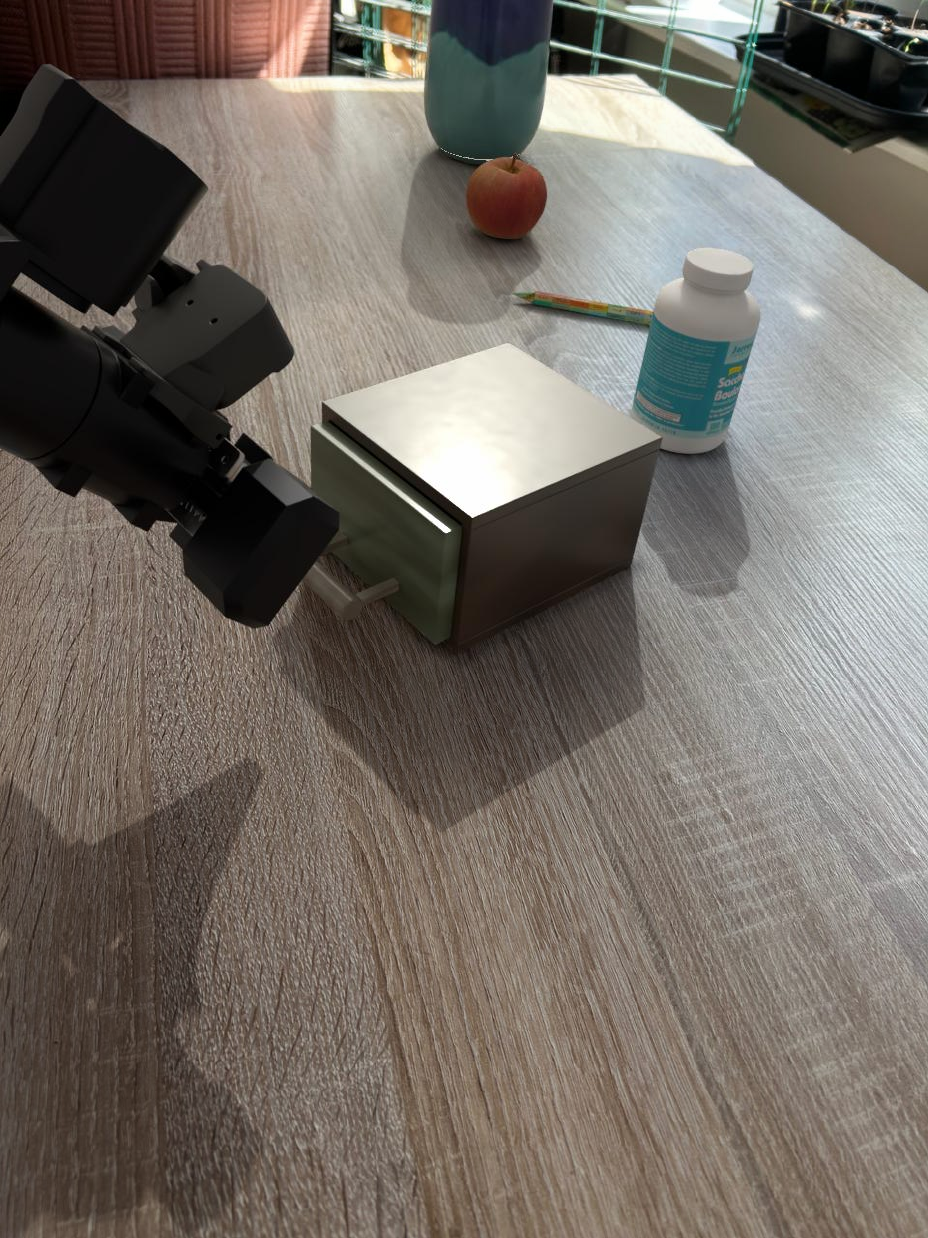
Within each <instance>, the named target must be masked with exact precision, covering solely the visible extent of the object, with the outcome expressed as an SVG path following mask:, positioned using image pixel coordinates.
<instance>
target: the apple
mask: <svg viewBox="0 0 928 1238" xmlns="http://www.w3.org/2000/svg"><path fill="white" fill-rule="evenodd" d="M517 155H518V154H517V153H516V152H515V153H514V156H513V158H510V157H501V158H496V159H493V160H490V161H488V162H486V163H484V164H482V165H478V167H477V168H476V169H475V170H474V171H473V173H472V174H471V175H470V177H469V180H468V182H467V186H466V191H465V202H466V209H467V212H468V215H469V218H470V220H471V222H472V223H473V225H474V226H475V227H476V228H477V230H479V231H480V232H481V233H483V234H484V235H487V236H490V237H493V238H497V239H504V240H517V239H520V238H523V237H524V236H525V235H527V234H529V232H531V231H532V230H533V229H534V228H535V226H536V225H537V224H538V223H539V221H540V219H541V218H542V216H543V214H544V212H545V209H546V207H547V206H546V205H547V200H548V188H547V183H546V181H545V177H544V176H543V174H542V173H541V172H540V171H539V170H538V169H537V168H536V167H534V166H533V165H531V164H529V163H527V162H525V161H522V160H520V159H517V158H518V157H517ZM516 157H517V158H516Z"/></svg>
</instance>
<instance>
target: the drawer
mask: <svg viewBox="0 0 928 1238" xmlns="http://www.w3.org/2000/svg"><path fill="white" fill-rule="evenodd" d="M309 429H310V488H312V489H313V490H314V491H315V492H316V493H317V494H319V495H320V496H321V497H322V498H323V499H325V500H326V501H327V502H328V503H329V504H330V505H332V506H333V507H334V508H335V509H336V510H337V511H339V512H340V523H339V531H338V532H337V534H336V535H335V536H334V538H333V539H332V540H331V542H330V543H329V544H328V546H327V547H326V548H325V550H324V551H323V552H322V554H321V555H320V557H322V556H326V555H327V554H330V553H332V554H333V555H334V556H335V557H337V558H338V559H339V560H340V561H341V562H342V563H343V564H344V565H345V566H347V568H349V569H350V570H351V571H352V572H353V573H354V574H355V575H356V576H358V577H359V578H360V579H361V580H362V581H363V582H364V583H366V585H368V586H369V587H368V588H366V589H363V590H362V591H359V592H356V593H353V592H352V591H351V590H350V589H349V588H348V587H347V586H346V585H344V583H342V581H340V580H339V579H338V578H337V576H336V577H335V575H334V574H332V572H331V571H329V570H328V569H327V568H326V567H325V566H324V565H323V564H322V563H320V561H319V560H317V561H316V562H315V563H314V565H313V566H312V567H311V569H310V570H309V571H308V573H307V574H306V575H305V577H304V578H303V580H302V581H301V582H303V583H304V584H305V585H307V586H308V588H309V589H310V590H312V592H313V593H315V595H317V596H318V597H319V598H320V599H321V600H322V601H323V602H324V603H325V604H327V606H329V607H330V609H332V610H333V611H334V612H335V613H336V614H337V615H338V616H339V617H341V619H342V620H344V621H352V620H353V619H356V617H357V616H358V615H359V614H360V613H361V611H362V609H363V607H364V606H367V605H369V604H372V603H374V602H376V601H378V600H380V599H383V600H384V601H385V602H387V603H388V604H389V605H390V606H391V607H392V608H393V609H394V610H395V611H397V613H399V614H400V616H402V617H403V618H405V620H407V621H408V622H409V623H410V624H411V625H412V626H413V627H414V628H415V629H417V630H418V631H419V633H421V634H422V635H423V636H424V637H426V639H428V640H429V641H430V642H431V643H432V644H433V645H435V646H436V645H438V644H440V643H443V642H442V641H444V640H446V639H448V638H450V637H451V630H452V621H453V611H454V602H455V592H456V583H457V574H458V564H459V555H460V545H461V536H462V526H461V525H462V523H461V522H460V521H458V520H457V519H456V518H455V517H453V516H452V515H451V514H450V513H448V512H447V511H446V510H444V509H443V508H442V507H441V506H439V505H438V504H437V503H435V502H434V501H433V500H432V499H430V498H429V497H428V496H427V495H425V494H424V493H423V492H421V491H420V490H419V489H418V488H416V487H415V486H414V485H412V484H411V483H410V482H409V481H407V480H406V479H405V478H404V477H402V476H401V475H400V474H398V473H397V472H396V471H395V470H393V469H392V468H391V467H389V466H388V465H387V464H386V463H384V462H383V461H382V460H381V459H379V458H378V457H377V456H375V455H374V454H373V453H372V452H370V451H369V450H368V449H366V448H365V447H364V446H363V445H361V444H360V443H359V442H358V441H356V440H355V439H354V438H353V440H351V439H350V438H349V437H347V436H346V435H345V434H344V433H342V432H341V431H340V430H339V429H337V428H336V427H335V426H333V425H332V424H331V423H330V422H328V421H324V422H322V421H320V422H318V423H315V424H312V425H310V428H309Z"/></svg>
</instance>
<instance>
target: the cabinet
mask: <svg viewBox="0 0 928 1238" xmlns="http://www.w3.org/2000/svg"><path fill="white" fill-rule="evenodd" d="M324 421H328V422H330V423H331V424H332V425H333V426H335V427H336V428H337V429H339V430H340V431H341V432H342V433H344V434H345V435H346V436H347V437H349V438H350V439H351V440H353V438H354V439H355V440H356V441H358V442H359V443H360V444H361V445H363V446H364V447H365V448H366V449H368V450H369V451H370V452H372V453H373V454H374V455H375V456H377V457H378V458H379V459H381V460H382V461H383V462H384V463H386V464H387V465H388V466H389V467H391V468H392V469H393V470H395V471H396V472H397V473H398V474H400V475H401V476H402V477H404V478H405V479H406V480H407V481H409V482H410V483H411V484H412V485H414V486H415V487H416V488H418V489H419V490H420V491H421V492H423V493H424V494H425V495H427V496H428V497H429V498H430V499H432V500H433V501H434V502H435V503H437V504H438V505H439V506H441V507H442V508H443V509H444V510H446V511H447V512H448V513H450V514H451V515H452V516H453V517H455V518H456V519H457V520H458V521H460V522H461V523H462V525H461V526H462V536H461V545H460V555H459V564H458V574H457V583H456V592H455V602H454V611H453V621H452V630H451V637H450V638H448V639H446V640H444V641H442V642H441V643H443V644H444V645H446V646H447V648H449V650H451V651H452V652H453V653H454V654H456V655H459V654H460V653H462V652H465V651H467V650H468V649H470V648H473V647H475V646H476V645H478V644H480V643H482V642H484V641H487V640H488V639H490V638H493V637H494V636H496V635H499V634H500V633H502V632H505V631H506V630H509V629H510V628H512V627H514V626H516V625H518V624H520V623H522V622H524V621H525V620H528V619H529V618H532V617H534V616H536V615H537V614H540V613H542V612H544V611H545V610H547V609H550V608H552V607H554V606H556V605H558V604H560V603H561V602H563V601H565V600H567V599H569V598H571V597H574V596H575V595H577V594H580V593H581V592H583V591H586V590H587V589H589V588H590V587H593V586H595V585H596V584H599V583H601V582H602V581H605V580H607V579H609V578H611V577H613V576H614V575H617V574H619V573H620V572H623V571H625V570H627V569H628V568H630V567H632V565H633V561H634V556H635V553H636V548H637V544H638V541H639V537H640V534H641V533H640V532H641V529H642V525H643V520H644V517H645V512H646V508H647V503H648V499H649V495H650V490H651V487H652V483H653V480H654V479H653V478H654V475H655V471H656V467H657V462H658V458H659V453H660V450H661V448H660V447H661V443H662V439H663V437H661V436H660V435H658V434H657V433H655V432H653V431H652V430H650V429H648V428H647V427H645V426H644V425H642V424H640V423H639V422H637V421H635V420H634V419H632V418H631V416H629V415H627V414H626V413H624V412H622V411H621V410H620V409H618V408H616V407H614V406H613V405H611V404H609V403H608V402H606V401H605V400H603V399H601V398H600V397H598V396H596V395H595V394H593V393H592V392H590V391H588V390H586V389H585V388H584V387H582V386H580V385H579V384H577V383H575V382H574V381H572V380H570V379H569V378H567V377H566V376H564V375H562V374H560V373H559V372H557V371H556V370H554V369H552V368H551V367H549V366H548V365H546V364H544V363H543V362H541V361H540V360H538V359H536V358H535V357H533V356H531V355H530V354H528V353H527V352H525V351H524V350H522V349H520V348H519V347H517V346H515V345H513V344H512V343H510V342H506V343H503V344H499V345H497V346H496V345H495V346H493V347H490V348H487V349H484V350H480V351H477V352H473V353H470V354H468V355H464V356H461V357H458V358H455V359H452V360H449V361H445V362H442V363H440V364H437V365H434V366H429V367H427V368H424V369H421V370H417V371H414V372H410V373H408V374H405V375H401V376H399V377H395V378H393V379H389V380H386V381H383V382H380V383H376V384H374V385H370V386H366V387H364V388H360V389H358V390H357V389H356V390H355V391H354V390H353V391H351V392H348V393H345V394H341V395H338V396H335V397H332V398H329V399H326V400H323V401H322V400H321V422H324Z"/></svg>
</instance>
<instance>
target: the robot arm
mask: <svg viewBox="0 0 928 1238" xmlns="http://www.w3.org/2000/svg"><path fill="white" fill-rule="evenodd" d="M0 135H1V136H0V450H2V451H4V452H6V453H8V454H10V455H13V456H14V457H17V458H18V459H21V460H23V461H25V462H27V463H28V464H30V465H33V467H34V468H35V469H37V471H38V472H39V473H40V474H41V475H42V477H44V478H45V479H46V480H47V482H48V483H49V484H50V485H51V486H52V487H53V489H55V490H57V491H59V492H61V493H63V494H65V495H67V496H70V497H72V498H74V499H75V498H76V497H77V495H78V494H79V493H80V491H81V490H82V489H83V490H85V491H86V492H89V493H91V494H92V495H96V496H97V497H99V498H101V499H104V500H106V501H108V502H109V503H110V504H111V505H112V506H113V507H114V508H115V509H116V510H117V511H118V513H120V515H121V516H122V517H123V518H124V519H125V520H126V521H127V522H128V523H129V524H130V525H131V526H134V527H136V528H137V529H140V530H142V531H144V532H147V533H148V532H149V531H150V530H151V529H152V527H153V525H154V524H155V523H156V522H163V523H172V524H176V525H175V526H174V527H173V529H172V530H171V532H170V533H169V538H171V540H172V541H173V542H174V543H175V544H176V545H177V546H178V547H179V548H180V549H181V553H182V554H181V555H182V565H183V574H184V576H185V577H186V578H187V579H188V580H189V581H190V583H192V584H193V585H194V586H195V588H196V589H197V590H198V591H199V592H200V593H201V594H202V595H203V596H204V597H205V599H206V600H208V601H209V602H210V603H211V604H212V605H213V607H214V608H216V610H218V612H219V613H220V614H221V615H222V616H223V617H224V618H226V619H229V620H231V621H233V622H236V623H238V624H240V625H243V626H245V627H248V628H251V629H253V630H255V629H261V628H264V627H268V626H269V625H270V624H271V623H272V621H273V620H274V619H275V618H276V616H277V615H278V614H279V612H280V611H281V610H282V609H283V607H284V605H285V604H286V602H287V601H288V600H289V599H290V597H291V596H292V594H293V593H294V592H295V591H296V589H297V588H298V586H300V583H302V582H303V581H302V580H303V578H304V577H305V575H306V574H307V573H308V571H309V570H310V569H311V567H312V566H313V565H314V563H315V562H316V561H318V559H320V557H321V556H320V555H321V554H322V552H323V551H324V550H325V548H326V547H327V546H328V544H329V543H330V542H331V540H332V539H333V538H334V536H335V535H336V534H337V532H338V531H339V523H340V512H339V511H337V510H336V509H335V508H334V507H333V506H332V505H330V504H329V503H328V502H327V501H326V500H325V499H323V498H322V497H321V496H320V495H319V494H317V493H316V492H315V491H314V490H313V489H312V488H311V486H309V485H308V484H307V483H306V482H304V480H302V479H300V478H299V477H298V476H296V475H295V474H293V473H292V472H291V471H289V469H286V467H284V466H283V465H280V464H279V463H277V462H276V461H275V460H274V458H273V456H272V455H271V454H270V452H268V451H267V450H265V448H263V447H262V446H261V445H260V444H258V443H257V442H256V441H255V440H253V438H251V437H250V436H249V435H248V434H247V433H246V432H242V433H241V434H240V436H239V437H238V439H237V440H236V442H235V443H234V444H233V443H232V439H231V431H232V429H233V427H234V426H233V425H232V424H231V423H230V422H229V419H228V418H227V417H226V415H224V414H223V413H222V412H221V411H220V410H223V409H226V408H229V407H230V406H232V405H233V404H235V403H236V402H238V401H239V400H240V399H241V398H242V397H244V396H245V395H247V393H248V392H250V391H252V390H253V389H254V388H255V387H256V386H258V385H259V384H260V383H261V382H263V381H265V379H267V378H268V377H269V376H270V375H272V374H273V373H275V374H277V373H280V372H281V371H283V370H284V369H285V368H287V366H289V364H290V363H291V361H292V360H293V358H294V356H295V350H294V346H293V344H292V342H291V340H290V339H289V336H288V335H287V332H286V330H285V328H284V326H283V324H282V323H281V321H280V318H279V317H278V314H277V312H276V311H275V309H274V307H273V305H272V303H271V301H270V298H269V297H268V295H267V293H266V292H265V291H263V290H262V289H260V288H259V287H258V286H256V285H255V284H254V283H252V282H251V281H249V280H248V279H247V278H245V277H244V276H242V275H241V274H239V273H238V272H236V271H235V270H233V269H232V268H231V267H229V266H228V265H225V264H214V265H213V264H210V263H209V262H208V261H206V260H205V259H204V258H201V259H200V260H198V261H197V262H195V266H196V268H197V269H198V271H195V270H192V269H190V268H188V267H187V266H186V265H184V264H183V263H181V262H180V261H178V260H176V259H175V258H172V257H171V256H169V255H168V254H166V253H165V252H166V251H167V249H168V248H169V246H170V245H171V244H172V242H173V241H174V240H175V238H176V237H177V235H178V234H179V232H180V231H181V230H182V228H183V227H184V226H185V224H186V222H187V221H188V220H189V218H190V217H191V216H192V214H193V212H194V211H195V210H196V208H197V207H198V206H199V204H200V203H201V201H202V200H203V199H204V197H205V195H206V194H207V193H208V191H209V186H208V185H207V184H206V183H205V182H204V181H203V180H202V178H201V177H199V176H198V174H197V173H196V172H195V171H194V170H192V168H190V167H189V166H188V165H187V164H186V163H185V162H184V161H183V160H182V159H181V158H179V157H178V156H177V155H176V154H175V153H174V152H173V151H172V150H171V149H169V148H168V147H167V146H165V145H164V144H162V143H161V142H159V141H158V140H156V139H154V138H152V136H149V135H148V134H147V133H145V132H143V131H142V130H140V129H139V128H137V127H135V126H134V125H132V124H131V123H129V122H128V121H127V120H125V119H124V118H122V117H121V116H120V115H118V113H116V112H115V111H114V110H112V109H111V108H109V106H107V105H106V104H105V103H103V102H102V101H100V100H99V99H97V97H95V96H94V95H93V94H92V93H91V92H90V91H88V89H86V88H85V87H84V86H83V85H82V84H80V83H79V82H78V81H77V80H76V79H75V78H74V77H72V76H70V75H68V74H67V73H65V72H64V71H62V70H60V69H59V68H57V67H56V66H54V65H53V64H50V63H47V64H46V63H45V64H41V66H40V67H39V68H38V70H37V71H36V73H34V76H33V77H32V78H31V80H30V82H29V83H28V85H27V86H26V88H25V89H24V92H23V93H22V95H21V99H20V102H19V103H18V107H17V110H16V112H15V114H14V116H12V119H11V120H10V122H9V124H8V125H7V126H6V128H5V129H4V131H3V132H2V134H0ZM21 274H22V275H23V276H25V277H27V278H28V279H29V280H31V281H33V282H34V283H35V284H37V285H39V286H40V287H41V288H43V290H46V291H47V292H49V293H50V294H51V295H53V296H54V297H55V298H57V299H59V300H60V301H61V302H64V303H65V304H66V305H68V306H69V307H71V308H73V309H74V310H76V311H78V312H79V313H81V314H83V315H87V313H88V312H89V311H90V309H91V307H92V306H93V305H94V306H95V307H97V308H98V309H100V310H101V311H103V312H105V313H107V314H108V315H110V316H111V317H115V316H116V315H117V314H118V311H120V309H121V307H123V308H127V306H128V305H129V303H130V302H131V300H132V299H133V297H134V304H135V306H136V307H135V308H134V309H133V310H131V314H132V316H133V317H134V319H135V323H134V326H133V327H132V328H131V329H130V330H129V331H128V332H127V333H126V332H124V331H123V330H121V329H119V328H118V327H117V326H115V325H114V324H113V325H107V326H103V327H101V326H99V325H97V324H96V325H94V327H93V328H92V329H91V328H89V327H87V326H86V325H84V324H82V325H81V327H80V328H79V327H78V326H76V325H74V324H73V323H72V322H70V321H68V319H67V320H66V319H65V318H64V317H62V316H61V315H59V314H58V313H56V312H55V311H53V310H51V309H50V308H48V307H47V306H45V305H44V304H42V303H40V302H39V301H38V300H36V299H34V298H33V297H31V296H30V295H28V294H26V293H25V292H23V291H22V290H20V289H19V288H17V287H15V286H14V284H15V282H16V280H17V279H18V278H19V276H20V275H21Z"/></svg>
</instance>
